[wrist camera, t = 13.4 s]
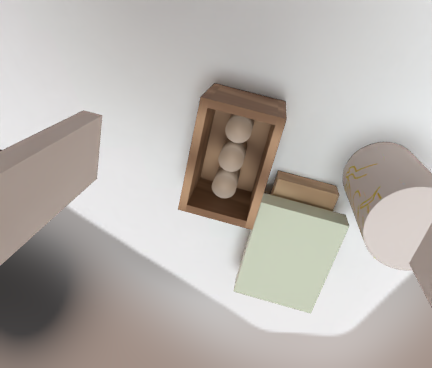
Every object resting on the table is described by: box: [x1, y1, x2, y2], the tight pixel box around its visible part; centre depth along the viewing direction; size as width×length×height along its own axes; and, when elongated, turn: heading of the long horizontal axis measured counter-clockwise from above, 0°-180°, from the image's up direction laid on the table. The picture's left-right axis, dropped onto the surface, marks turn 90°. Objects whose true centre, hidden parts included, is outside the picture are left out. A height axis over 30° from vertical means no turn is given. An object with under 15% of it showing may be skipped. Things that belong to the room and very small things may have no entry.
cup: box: [343, 142, 432, 270], centre depth 37 cm, size 8×8×12 cm
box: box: [178, 83, 286, 230], centre depth 40 cm, size 12×8×8 cm, turn 168°
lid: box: [234, 193, 349, 313], centre depth 44 cm, size 12×10×3 cm
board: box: [270, 171, 339, 211], centre depth 46 cm, size 16×7×2 cm, turn 168°
